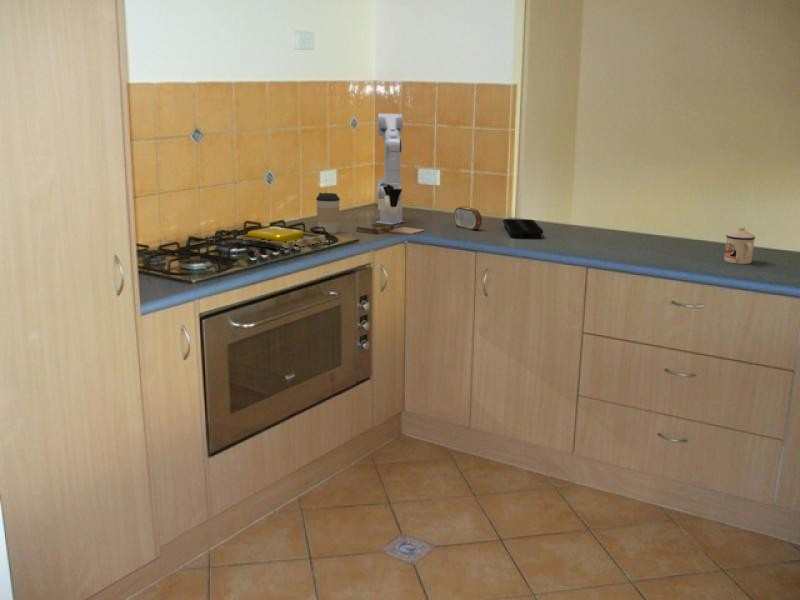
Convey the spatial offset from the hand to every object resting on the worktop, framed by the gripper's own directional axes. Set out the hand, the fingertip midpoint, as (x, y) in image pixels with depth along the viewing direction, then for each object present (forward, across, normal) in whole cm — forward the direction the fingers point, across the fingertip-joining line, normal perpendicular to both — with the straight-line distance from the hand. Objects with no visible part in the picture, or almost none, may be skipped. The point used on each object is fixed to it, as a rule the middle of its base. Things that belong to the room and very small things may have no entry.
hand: (392, 205), depth 332 cm
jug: (+3, 0, +1) cm, 3 cm away
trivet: (+10, -1, -6) cm, 12 cm away
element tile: (+10, -19, +46) cm, 51 cm away
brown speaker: (+10, +5, -32) cm, 34 cm away
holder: (+10, +2, +7) cm, 12 cm away
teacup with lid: (+10, -72, -104) cm, 127 cm away
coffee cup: (+10, 0, +25) cm, 27 cm away
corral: (+10, -21, +44) cm, 50 cm away
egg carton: (+11, -8, -51) cm, 52 cm away
